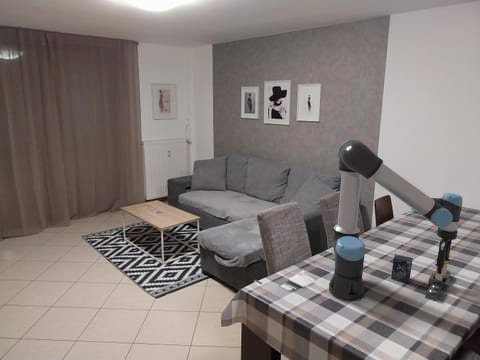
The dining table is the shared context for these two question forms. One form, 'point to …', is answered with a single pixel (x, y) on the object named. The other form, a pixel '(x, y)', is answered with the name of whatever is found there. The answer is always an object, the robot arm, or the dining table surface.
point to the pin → (444, 270)
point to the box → (401, 268)
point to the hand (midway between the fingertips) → (440, 276)
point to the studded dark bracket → (437, 286)
